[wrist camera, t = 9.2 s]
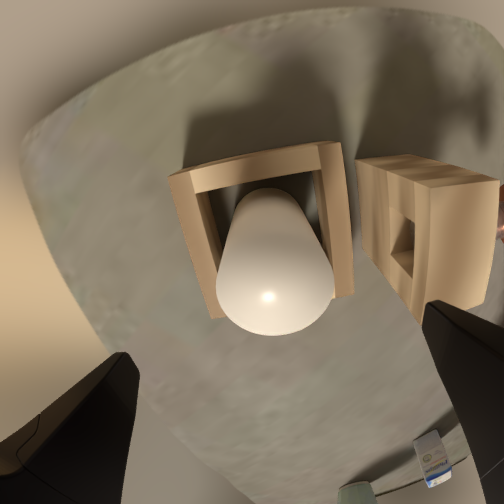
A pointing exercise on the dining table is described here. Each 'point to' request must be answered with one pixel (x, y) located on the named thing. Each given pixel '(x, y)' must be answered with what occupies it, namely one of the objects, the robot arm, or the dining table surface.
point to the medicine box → (433, 458)
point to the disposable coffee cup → (356, 494)
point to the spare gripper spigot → (273, 266)
